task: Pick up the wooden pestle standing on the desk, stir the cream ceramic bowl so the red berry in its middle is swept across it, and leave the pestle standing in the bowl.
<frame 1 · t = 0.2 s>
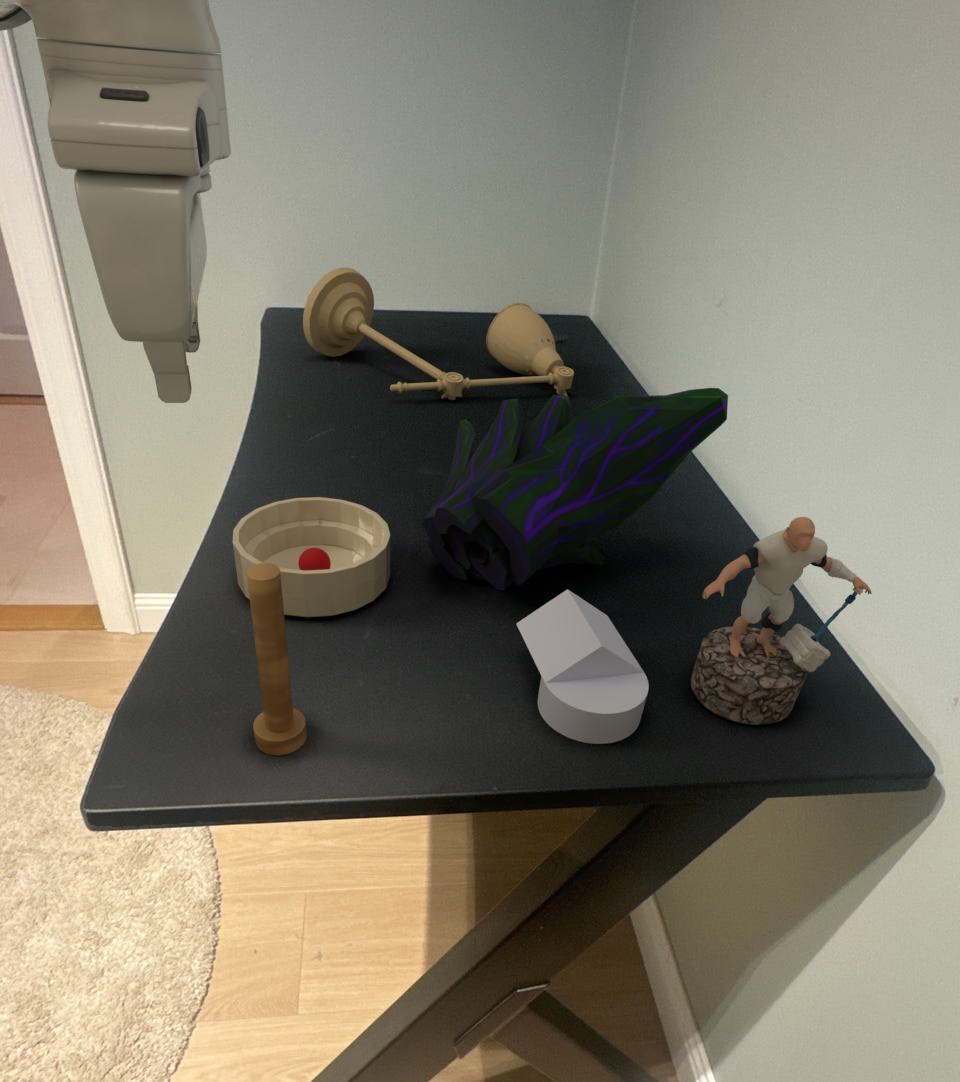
hand: (182, 372, 50), 27 cm above the table, tool pointing down, fingers open, 8 cm apart
decorative plant: (537, 554, 88), on the table
berry: (314, 563, 79), point 2 cm above the table, touching bowl
figurine: (739, 695, 71), on the table
wedge on round base: (580, 694, 69), on the table
desk lamp: (446, 376, 135), on the table
bowl: (315, 579, 80), on the table
wooden pestle: (281, 737, 62), on the table
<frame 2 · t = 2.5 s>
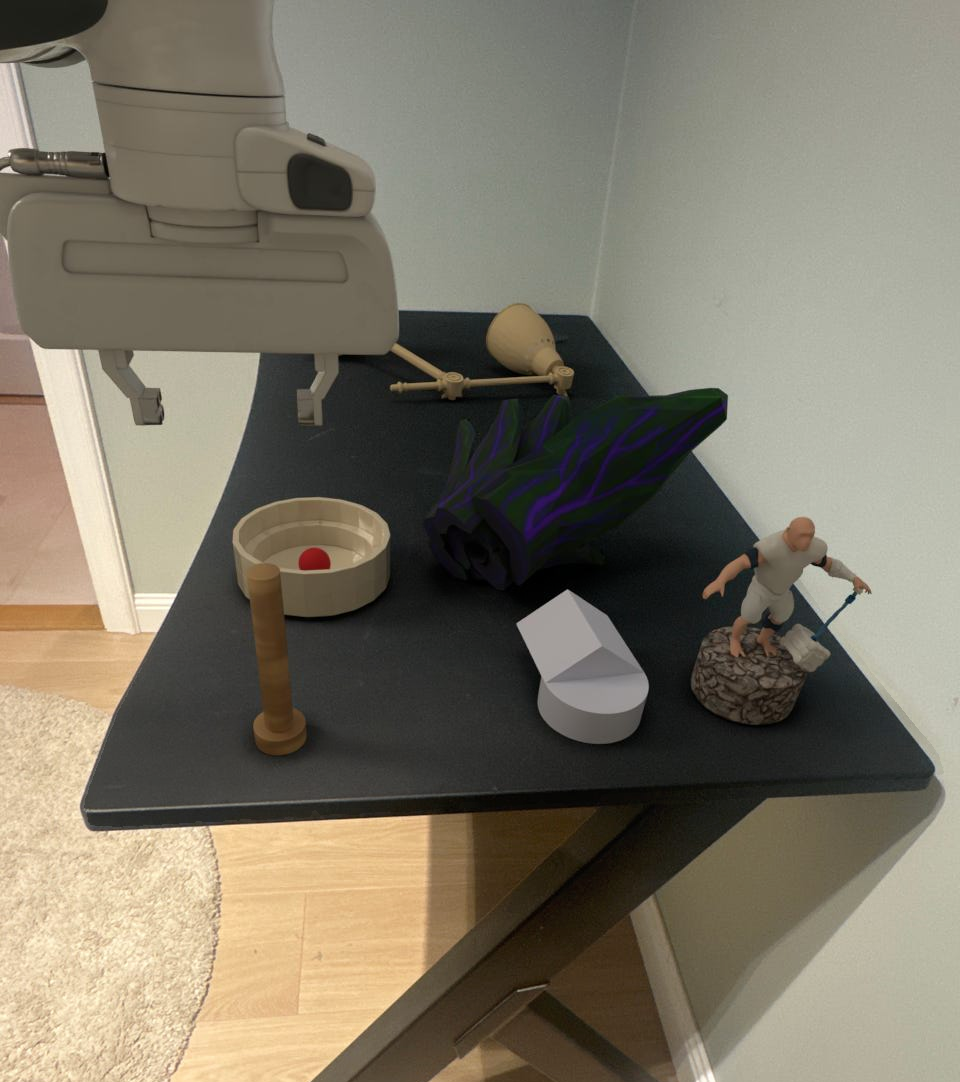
hand: (232, 422, 48), 25 cm above the table, tool pointing down, fingers open, 8 cm apart
nothing on the table moved.
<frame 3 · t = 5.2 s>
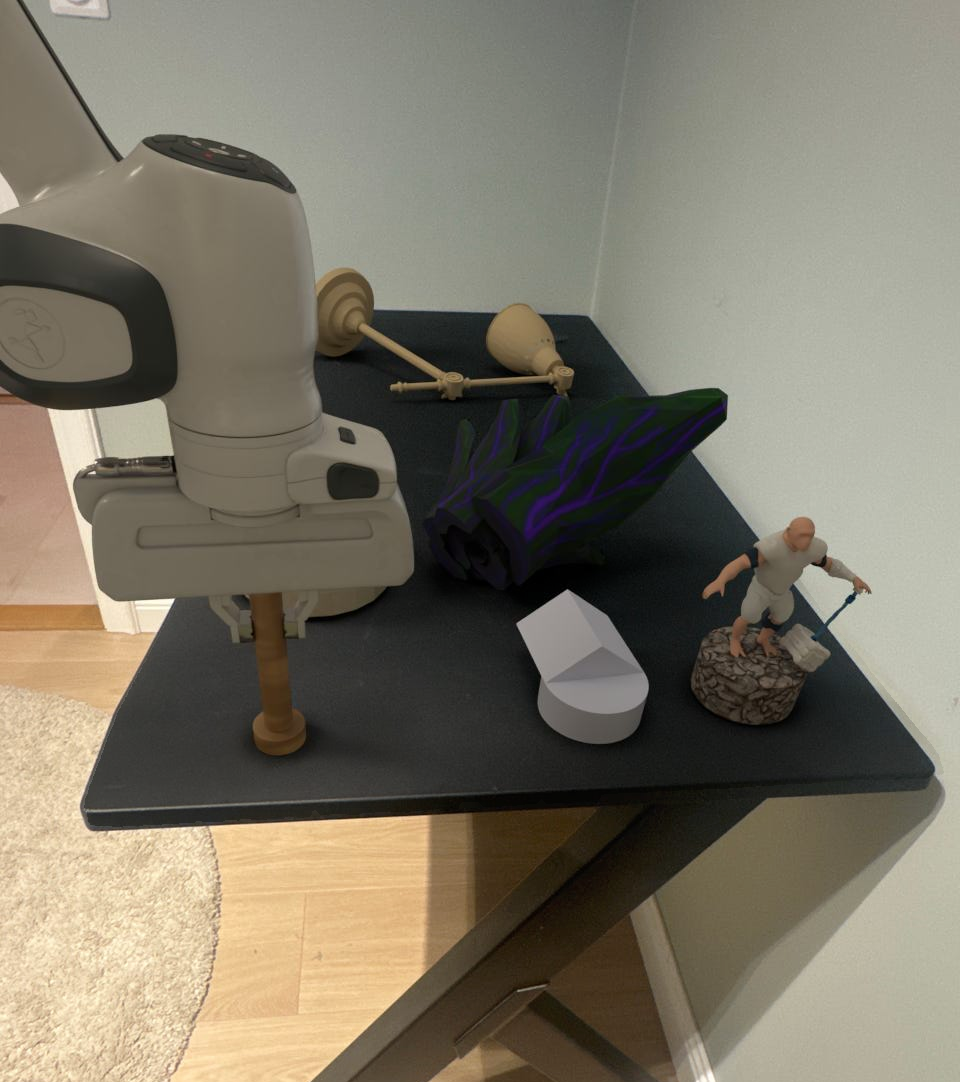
hand: (270, 636, 56), 10 cm above the table, tool pointing down, fingers closed on wooden pestle, 2 cm apart
wooden pestle: (280, 737, 62), on the table, touching gripper
everything else where it was.
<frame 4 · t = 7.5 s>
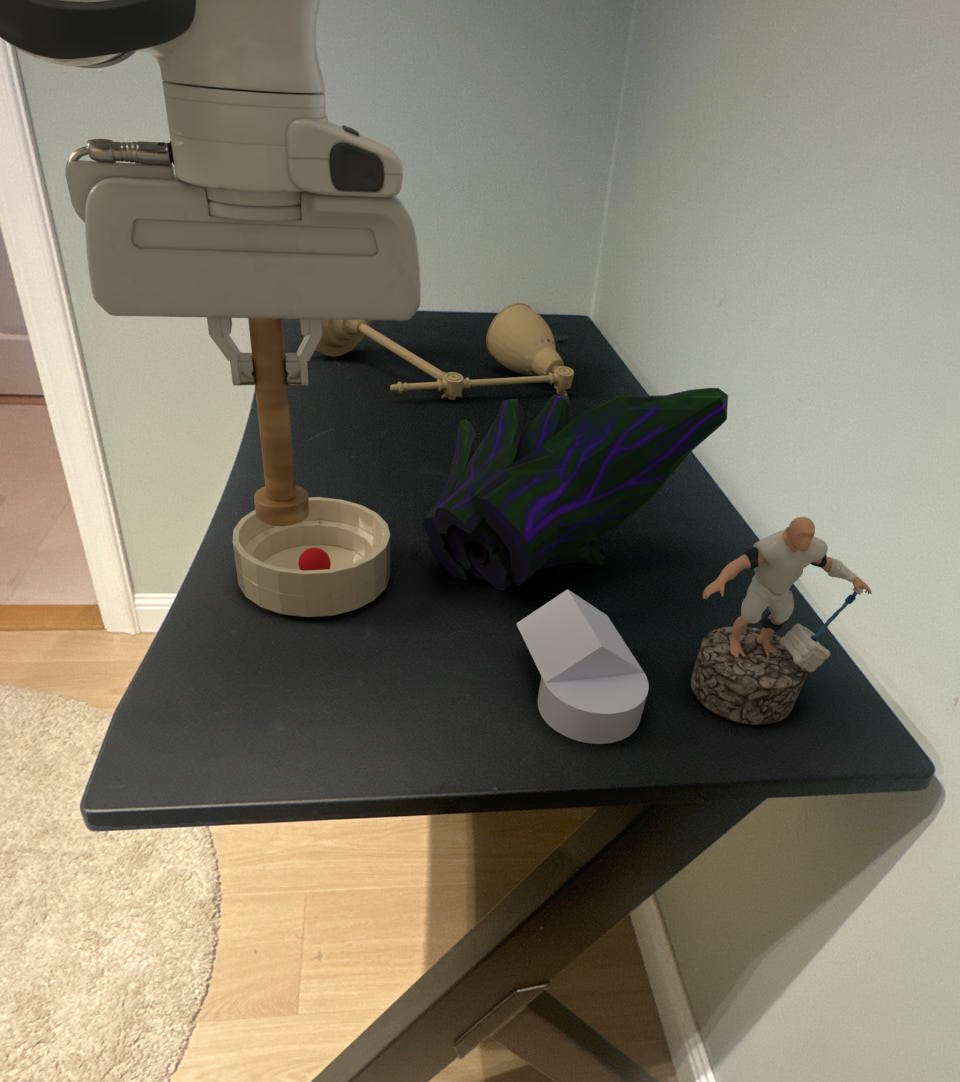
hand: (271, 383, 54), 25 cm above the table, tool pointing down, fingers closed on wooden pestle, 2 cm apart
wooden pestle: (282, 513, 60), point 15 cm above the table, touching gripper
everything else where it was.
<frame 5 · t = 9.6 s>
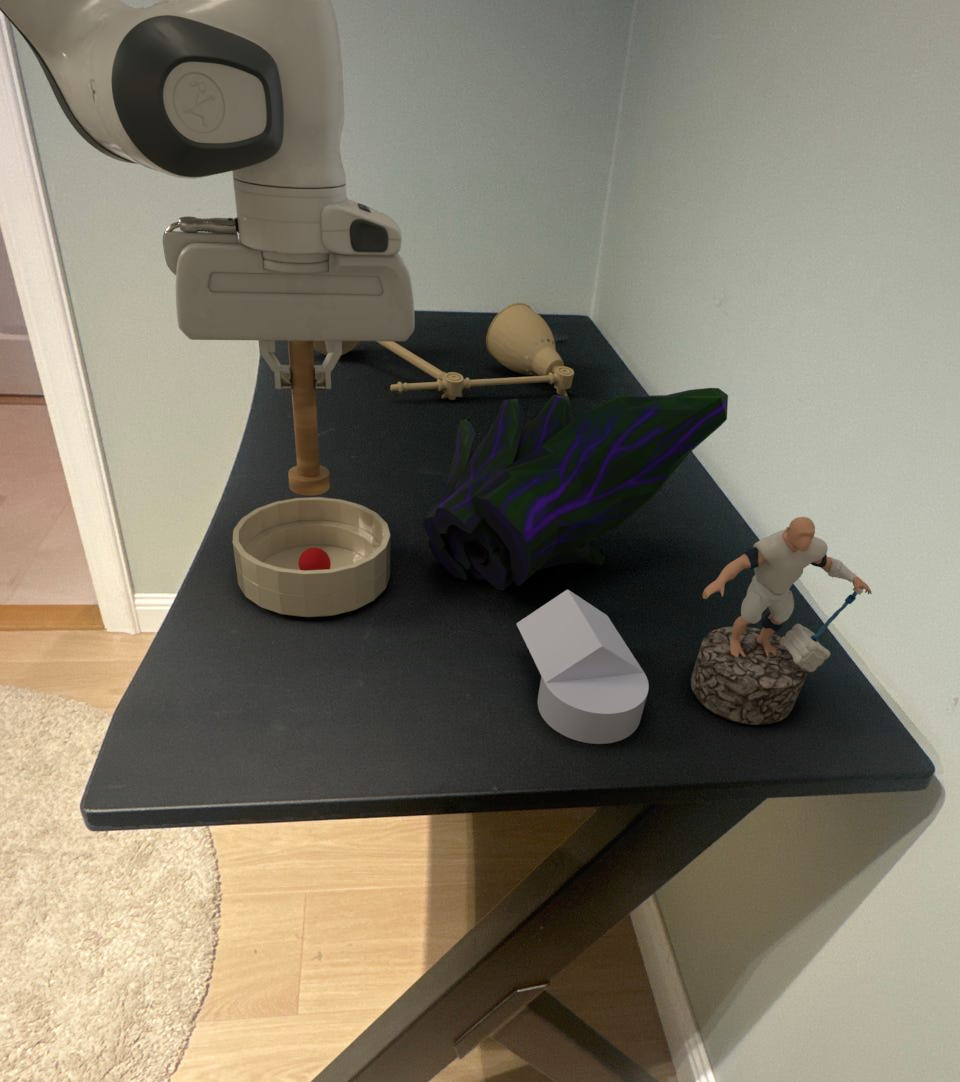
hand: (303, 387, 72), 19 cm above the table, tool pointing down, fingers closed on wooden pestle, 2 cm apart
wooden pestle: (309, 486, 78), point 9 cm above the table, touching gripper
everything else where it was.
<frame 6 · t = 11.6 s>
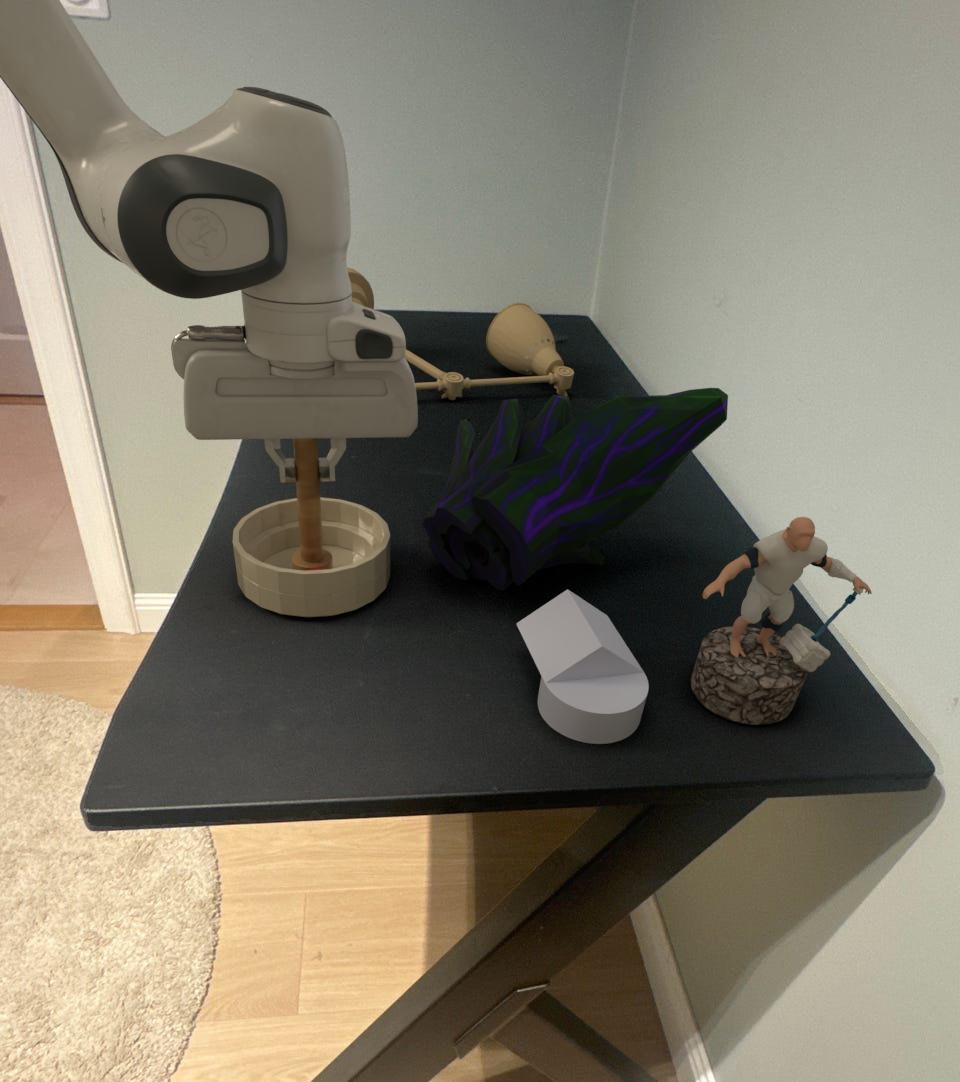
hand: (308, 479, 73), 11 cm above the table, tool pointing down, fingers closed on wooden pestle, 2 cm apart
berry: (317, 583, 76), point 2 cm above the table, tilted 136°, touching bowl
wooden pestle: (312, 570, 79), point 1 cm above the table, touching gripper
everything else where it was.
when the fingers open (11 cm above the table, at t = 14.4 s): wooden pestle stays where it is, resting on bowl.
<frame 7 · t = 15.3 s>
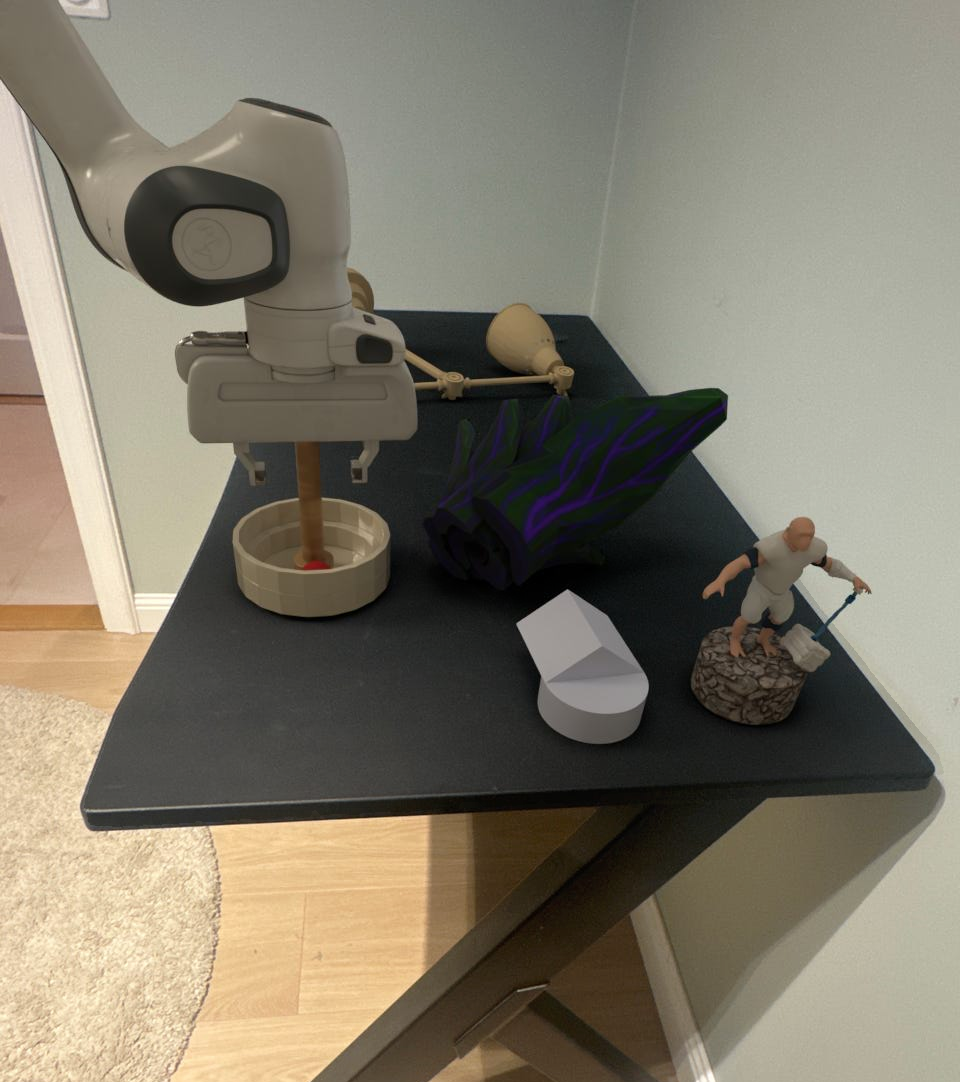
hand: (309, 481, 74), 11 cm above the table, tool pointing down, fingers open, 8 cm apart
berry: (316, 577, 77), point 2 cm above the table, tilted 92°, touching bowl
wooden pestle: (314, 571, 80), point 1 cm above the table, touching bowl
everything else where it was.
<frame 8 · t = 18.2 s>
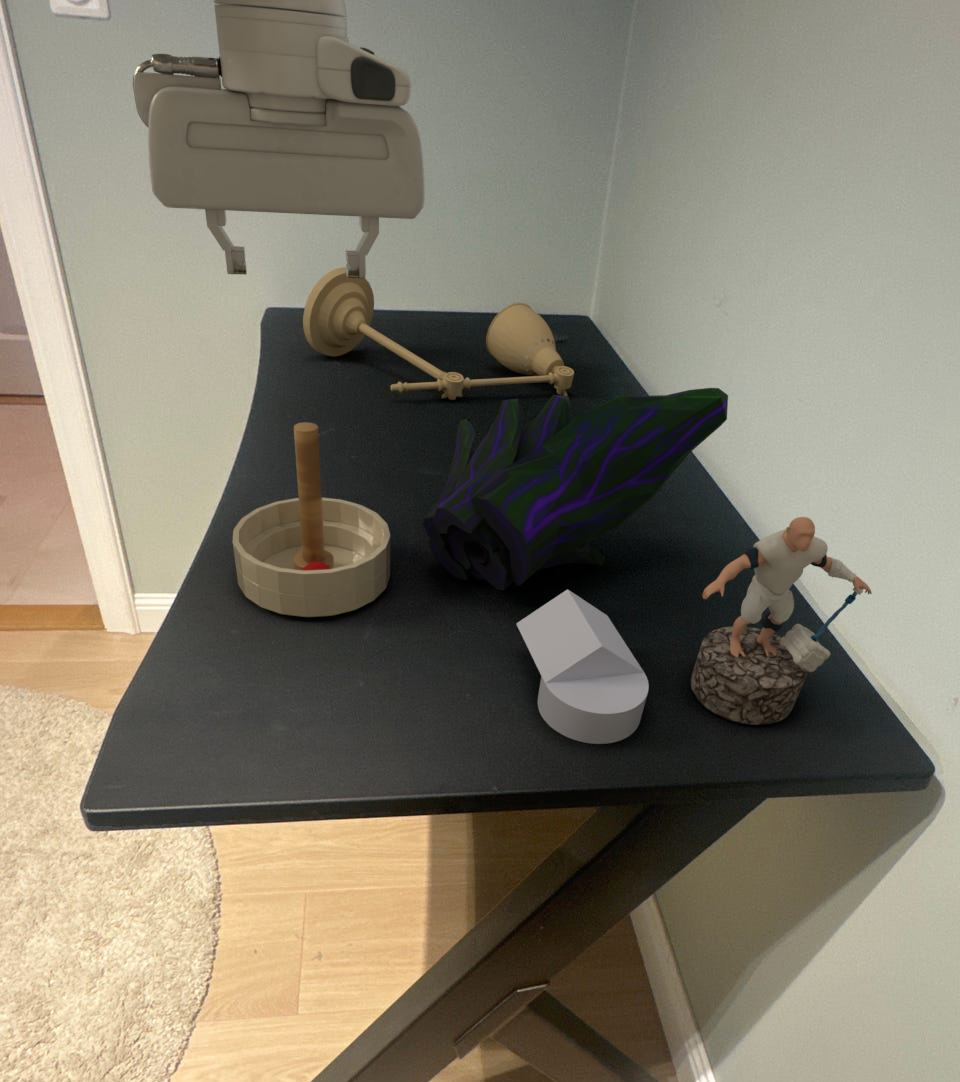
hand: (297, 274, 63), 29 cm above the table, tool pointing down, fingers open, 8 cm apart
berry: (317, 577, 77), point 2 cm above the table, tilted 97°, touching bowl
everything else where it was.
at the end: wooden pestle inside the target area in the bowl (0.6 cm from its centre), point 0.6 cm above the bowl's base; the gripper is holding nothing; berry moved 2.7 cm from its start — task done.
